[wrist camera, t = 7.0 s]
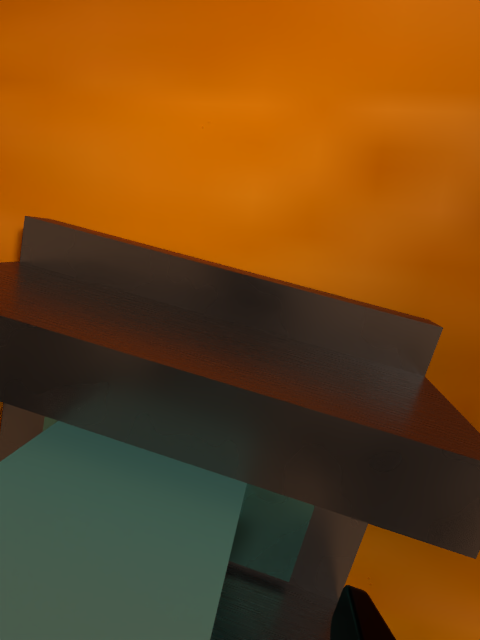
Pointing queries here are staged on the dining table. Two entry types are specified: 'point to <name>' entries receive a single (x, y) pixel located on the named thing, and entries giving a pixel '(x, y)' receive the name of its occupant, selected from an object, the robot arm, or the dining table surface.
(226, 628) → the slot rack
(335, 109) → the dining table surface
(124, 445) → the teal plug
